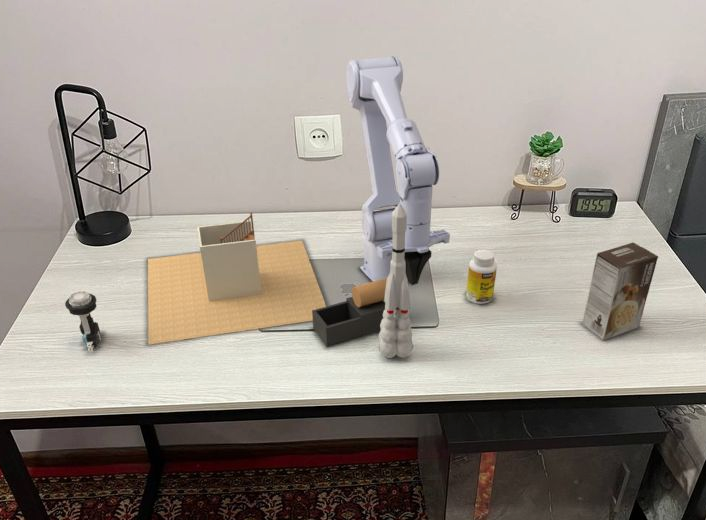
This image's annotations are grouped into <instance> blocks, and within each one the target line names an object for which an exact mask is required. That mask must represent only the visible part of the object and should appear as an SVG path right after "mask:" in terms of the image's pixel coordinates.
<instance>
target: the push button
mask: <svg viewBox="0 0 706 520" xmlns="http://www.w3.org/2000/svg"><path fill="white" fill-rule="evenodd" d="M64 306H65V308H66V309H67V310H68V312H69V314H70V315H73V316H78V317H79V319H80V324H79V330H80V333H81V337H82V341H83V343H84V345H85V348H86V349H87V352H92V351H93V349H94V348H97V344H98V340H99V341H101V339H102V336H101V329H100V326H99V323H98V322H97V321H94V317H92V315H91V313H92V312H93V311H95V310H96V308H97V297H96V295H94V294H93V293H89V292H88V291H77V292H74V293H72V294H70V295H69V296H68V298H67V299H66V300H65V303H64Z"/></svg>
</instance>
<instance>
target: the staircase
mask: <svg viewBox="0 0 706 520" xmlns="http://www.w3.org/2000/svg"><path fill="white" fill-rule="evenodd" d="M196 229H197V237H198V244H199V250H200V252H199V253H200V257H201V263H202V269H203V275H204V281H205V287H206V293H207V299H208V301H209V302H211V301H219V300H226V299H234V298H241V297H249V296H256V295H262V294H263V292H262V283H261V274H260V265H259V257H258V248H257V246H258V245H257V241H256V240H257V239H256V237H255V236H256V235H255V228H254V219H253V212H252V211H250V212H249V216H248V217H246V218H245V219H244V220H243V221H236V222H235V221H234V222H226V223H217V224H208V225H202V226H201V225H200V226H197V228H196Z"/></svg>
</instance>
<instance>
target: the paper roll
mask: <svg viewBox="0 0 706 520" xmlns="http://www.w3.org/2000/svg"><path fill="white" fill-rule="evenodd" d="M386 281H387V278H385V279H381V280H377V281H370V282H367V283H362V284H359V285H355V286H352V288H351V297H353V300H354V303H355V305H356V306H357V307H362V306H366V305H369V304H373V303H376V302H380V301H384V302H385V300H384V298H385V290H386Z"/></svg>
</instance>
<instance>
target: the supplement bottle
mask: <svg viewBox="0 0 706 520" xmlns="http://www.w3.org/2000/svg"><path fill="white" fill-rule="evenodd" d="M497 269H498V264H497V262H496V261H495V253H494V252H493V251H492V250H489V249H478V250H476V251H475V252H474V254H473V258H472V259H471V260H470V261H469V264H468V272H467V280H466V281H467V282H466V290H465V297H466V299H467V300H468V301H470V302H471V303H474V304H479V305H482V304H488V303H490V302H491V301H492V300H493V297H494V292H495V285H496V277H497Z"/></svg>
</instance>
